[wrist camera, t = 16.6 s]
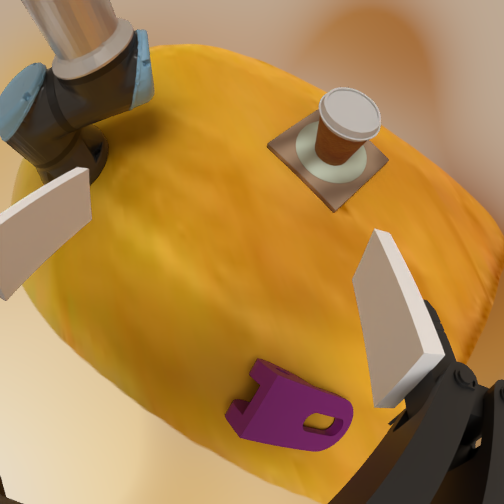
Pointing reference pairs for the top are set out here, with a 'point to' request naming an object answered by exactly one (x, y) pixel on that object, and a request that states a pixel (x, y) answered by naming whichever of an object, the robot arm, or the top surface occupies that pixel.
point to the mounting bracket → (288, 411)
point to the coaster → (318, 172)
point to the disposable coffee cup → (345, 124)
